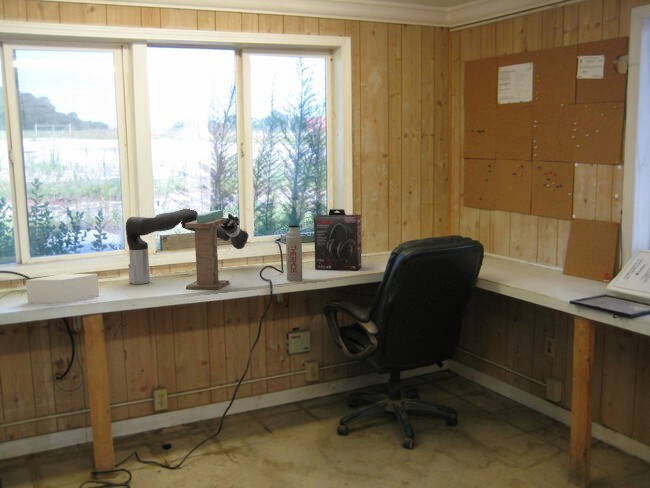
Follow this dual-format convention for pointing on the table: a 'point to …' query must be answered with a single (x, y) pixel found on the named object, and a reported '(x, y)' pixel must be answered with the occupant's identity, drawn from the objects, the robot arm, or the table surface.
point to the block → (62, 288)
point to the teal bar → (209, 216)
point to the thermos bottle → (294, 254)
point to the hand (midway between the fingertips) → (220, 215)
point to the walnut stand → (206, 255)
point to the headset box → (337, 241)
